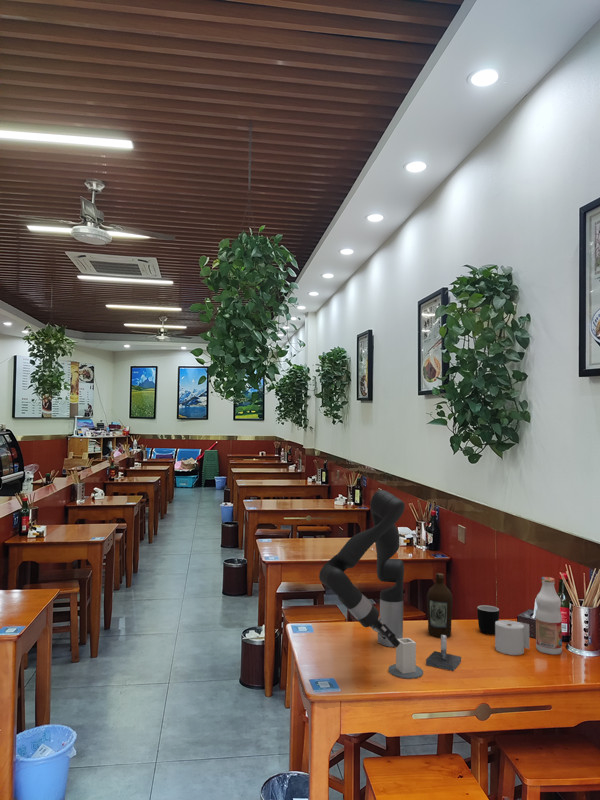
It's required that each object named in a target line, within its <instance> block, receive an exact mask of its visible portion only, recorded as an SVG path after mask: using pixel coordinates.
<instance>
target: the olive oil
mask: <svg viewBox="0 0 600 800" xmlns="http://www.w3.org/2000/svg"><path fill="white" fill-rule="evenodd" d="M453 600H454V599H453V594H452V592H451V590H450V588H448V586H447V585H446V584H445V578H444V573H440V572H439V573H438V572H437V573H435V583H434V584H433V585H432V586H431V587H430V588H429V589H428V591H427V595H426V606H427V633H428V635H430V636H432V637H434V638H440V639H441V635H446V636H447V638H450V637H451V636H452V620H453V619H452V618H453V616H452V615H453Z"/></svg>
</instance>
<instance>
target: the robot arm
mask: <svg viewBox="0 0 600 800" xmlns="http://www.w3.org/2000/svg"><path fill="white" fill-rule="evenodd" d="M405 504H406V503H405V502H404V501H403V500H401V499H400V498H399V497H397V496H396V495H394V494H393V493H391V492H389V491H387V490H384V489H379V490H377V491H376V492H374V493H373V495H372V496H371V499H370V504H369V505H370V506H369V509H370V514H371V517H372V522H373V526H372V527H370V528H368V529H366V530H364V531H361V532H358V533H356V534H354V535H352V536H351V538H349V539H348V540H347V541H346V543H345V544H344V545H343V547H342V548H341V549H340V550H339V551H338V552H337V554H335V555H334V556H333V557H331V558H330V559H329V560H328V561H327V562H326V563H324V565H322V568H321V569H320V571H319V573H318V574H319V575H318V577H319V581H320V583H322V585H324V586H326V587H328V588H329V589H330V590H331V591H332V592H333V593H335V594H336V595H337V597H338V600H339V601H340V603H341V604H343V605H344V607H345V608H346V609H347V610H348V611H349V613H350V614H351V615H352V616H353V617H354V618H355V619H356V620H357V622H358V623H360V625H361V626H362V627H363V628H370V629H371V630H372V631H374V632H376V633H377V643H378V644H380V645H382V646H385V647H389V648H391V647H392V648H396V647H398V645H399V644H400V642H399V641H398V640H397V639H402V638H404V578H405V563H404V561H403V560H402V559H400V558H392V557H393V556H394V555H396V554H397V552H398V551H399V549H400V544H401V543H400V533H399V530H398V528H397V526H396V523H397V522H398V521H399V519H400V518H401V516H402V515H403V514H404V511H405V507H406V506H405ZM373 544H375V552H376V575H377V579H378V580H379V581H380V582H384V583H394V585H392V586H391V587H389V588H384V589H382V590H381V591H380V592H379V593H380V594H379V609H378V608H377V607H376V606H375V605H374V604H373V603H372V602H371V601H370V600H369V599H368V597H366V595H364V594H363V593H362V592H361V591H360V590H359V589H358V588H357V587H356V586H355V585H354V584H353V582H352V580H351V579H350V578H349V576H348V575H347V574H346V573H345V571H346V570H347V569H352V568H354V567H355V566H356V565H357V563H359V561H360V560H361V558H362V557H363V556H364V555H365V554H366V552H367V551H368V550H369V549H370V548H371V547H372V546H373Z"/></svg>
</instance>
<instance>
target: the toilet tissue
mask: <svg viewBox="0 0 600 800" xmlns="http://www.w3.org/2000/svg"><path fill="white" fill-rule="evenodd" d="M494 635H495V637H494V640H495V641H494V646H495V647H494V649H495V650H496V651H497V652H499V653H501V654H505V655H509V656H521V655H523V654H525V649H528V650H529V649H530V643H531V642H530V624H529V623H525V622H521V621H514V620H508V619H506V620H505V619H504V620H503V619H501V620H500V619H499V621H496V622H495V634H494Z"/></svg>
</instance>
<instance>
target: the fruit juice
mask: <svg viewBox="0 0 600 800" xmlns="http://www.w3.org/2000/svg"><path fill="white" fill-rule="evenodd" d="M555 583H556V579H555V578H553V577H550V576H542V577H541V584H542V585H541V587H540V591H539V592H538V593H537V595H536V598H535V602H536V607H537V608H536V610H535V646H536V647H535V648H536V650H538V652H539V653H540V652H541V653H543V654H547V655H560V654H562V652H563V629H562V628H563V624H562V621H563V619H562V617H563V616H562V612H561V606H562V600H561V598H560V596H559V595H558V593H557V591H556V589H555V588H556V587H555Z"/></svg>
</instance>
